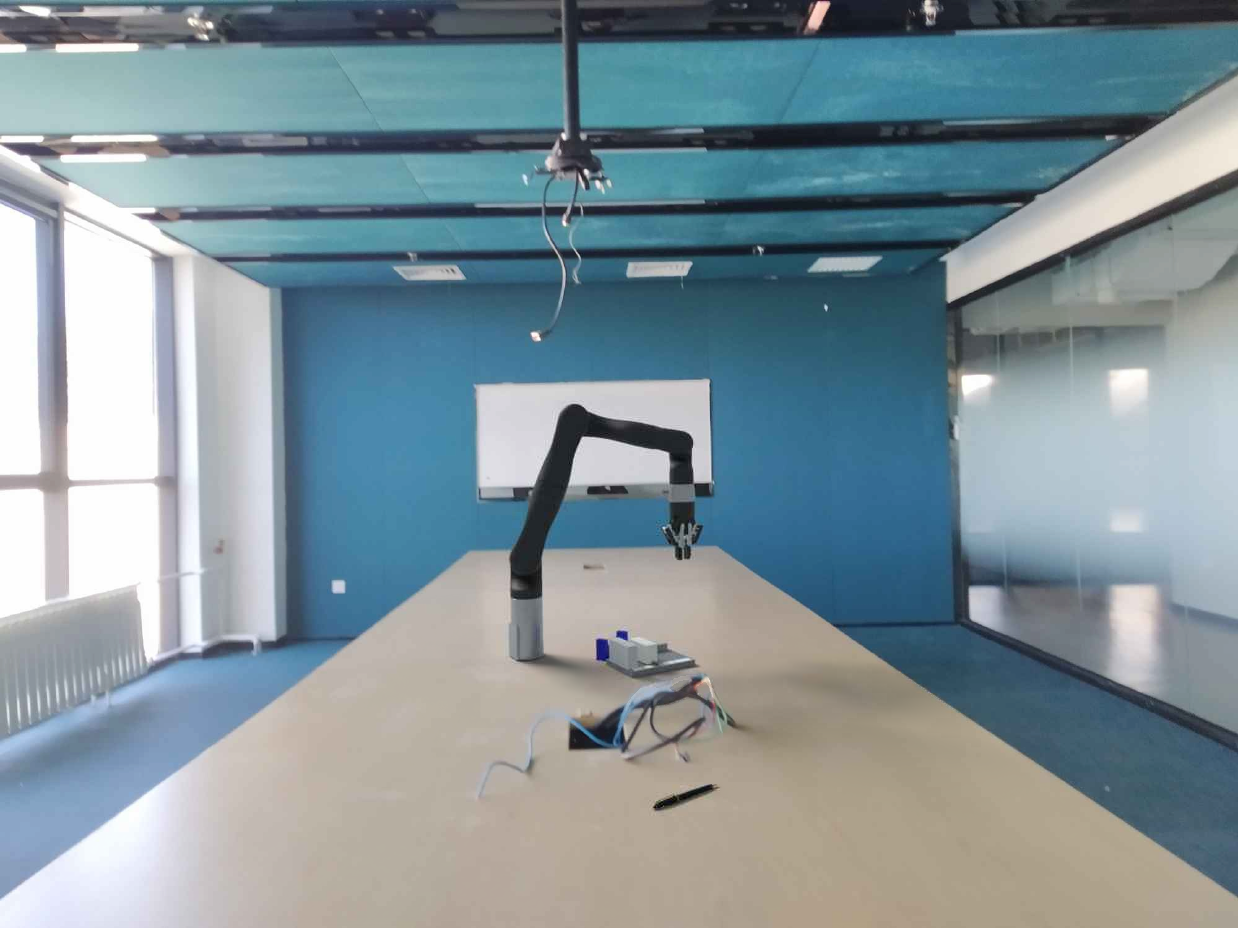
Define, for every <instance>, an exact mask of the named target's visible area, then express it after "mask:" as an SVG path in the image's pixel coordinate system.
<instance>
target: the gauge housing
mask: <svg viewBox="0 0 1238 928" xmlns="http://www.w3.org/2000/svg"><path fill="white" fill-rule="evenodd" d="M656 644H657V663H659V665H655V664H647V665H646V664H644V663H642V662H640V661H638V654H637V645H635V644H633V643H631V642H629V640H628V641H626V640H624V639H621V638H619V637H618V638H616V637H611V638H609V639H608V645H609V659H606V661H605V665H606V666H608V667H610V668H612V669H614V670H616V671H618V672H620V673H622V674H623V675H626V676H628V677H630V678H632V679H633V678H637V677H638V678H639V677H641V676H642V677H643V676H647V675H652V674H657V673H663V672H667V671H672V670H677V669H682V668H688V667H692V666H693V667H694V666H695V665H696V659H695V658H691V657H689V656H687V655H684V654H681V653H679V652H677V651H674V650H672V649H670V648H669V647H668V643H667V642H659V643H656Z"/></svg>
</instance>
